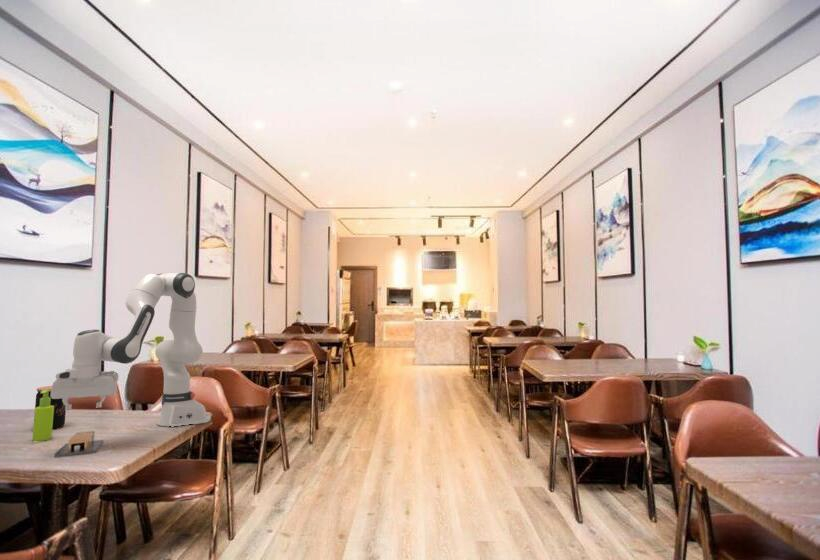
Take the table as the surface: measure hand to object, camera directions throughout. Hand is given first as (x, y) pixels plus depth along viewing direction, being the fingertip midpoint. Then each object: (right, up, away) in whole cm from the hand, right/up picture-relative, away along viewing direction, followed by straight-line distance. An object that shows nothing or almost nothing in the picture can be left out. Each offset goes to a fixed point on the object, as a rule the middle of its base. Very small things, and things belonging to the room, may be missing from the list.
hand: (83, 408), depth 160 cm
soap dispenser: (-25, -16, +10) cm, 31 cm away
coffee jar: (-37, -17, +27) cm, 49 cm away
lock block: (0, -14, -2) cm, 14 cm away
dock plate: (0, -15, -2) cm, 15 cm away
